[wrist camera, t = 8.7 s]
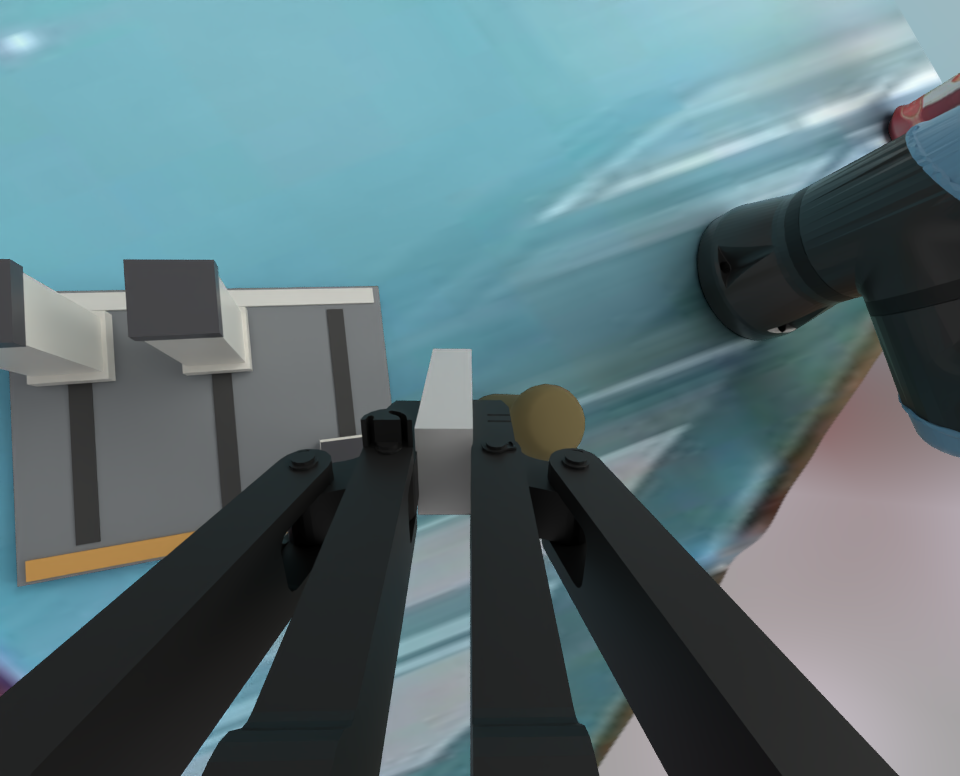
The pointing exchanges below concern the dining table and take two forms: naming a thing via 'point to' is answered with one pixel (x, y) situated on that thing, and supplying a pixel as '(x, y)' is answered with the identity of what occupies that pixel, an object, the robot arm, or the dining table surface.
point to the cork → (544, 419)
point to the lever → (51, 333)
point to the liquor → (925, 107)
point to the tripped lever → (343, 447)
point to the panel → (184, 428)
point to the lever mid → (187, 315)
